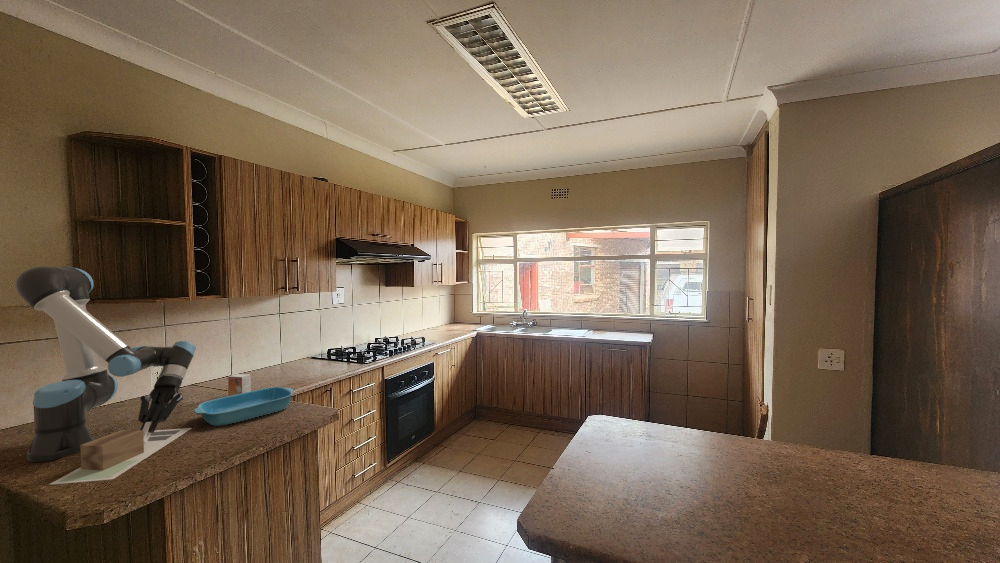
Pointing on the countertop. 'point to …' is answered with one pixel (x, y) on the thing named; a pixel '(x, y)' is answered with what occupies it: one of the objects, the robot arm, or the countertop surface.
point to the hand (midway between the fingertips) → (142, 442)
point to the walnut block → (111, 449)
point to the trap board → (153, 444)
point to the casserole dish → (244, 405)
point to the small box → (239, 384)
